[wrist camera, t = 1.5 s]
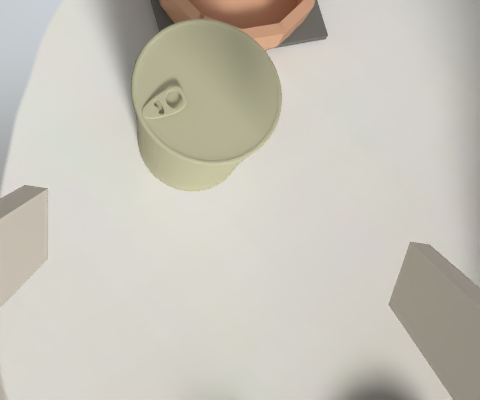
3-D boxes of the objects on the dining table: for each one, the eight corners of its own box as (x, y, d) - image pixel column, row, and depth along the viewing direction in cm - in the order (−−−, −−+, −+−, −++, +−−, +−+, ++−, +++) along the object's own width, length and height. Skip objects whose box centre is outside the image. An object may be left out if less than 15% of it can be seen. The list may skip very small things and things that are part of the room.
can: (120, 111, 32) (101, 39, 21) (215, 77, 35) (247, -6, 23) (165, 208, 32) (171, 189, 21) (257, 167, 35) (310, 130, 23)
